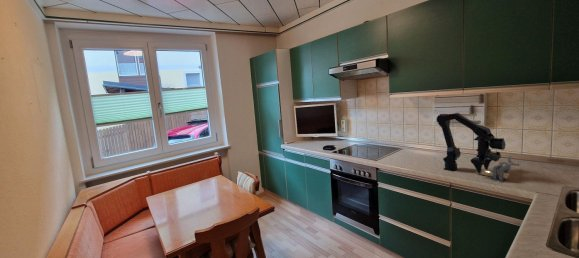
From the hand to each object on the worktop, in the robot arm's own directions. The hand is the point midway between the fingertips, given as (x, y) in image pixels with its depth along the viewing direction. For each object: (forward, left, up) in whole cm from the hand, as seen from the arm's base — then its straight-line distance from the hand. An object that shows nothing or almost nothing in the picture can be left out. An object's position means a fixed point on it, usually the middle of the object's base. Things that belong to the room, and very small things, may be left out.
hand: (482, 171), depth 161 cm
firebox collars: (+9, 0, -3) cm, 10 cm away
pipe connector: (+7, +19, -3) cm, 20 cm away
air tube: (+5, 0, -2) cm, 5 cm away
